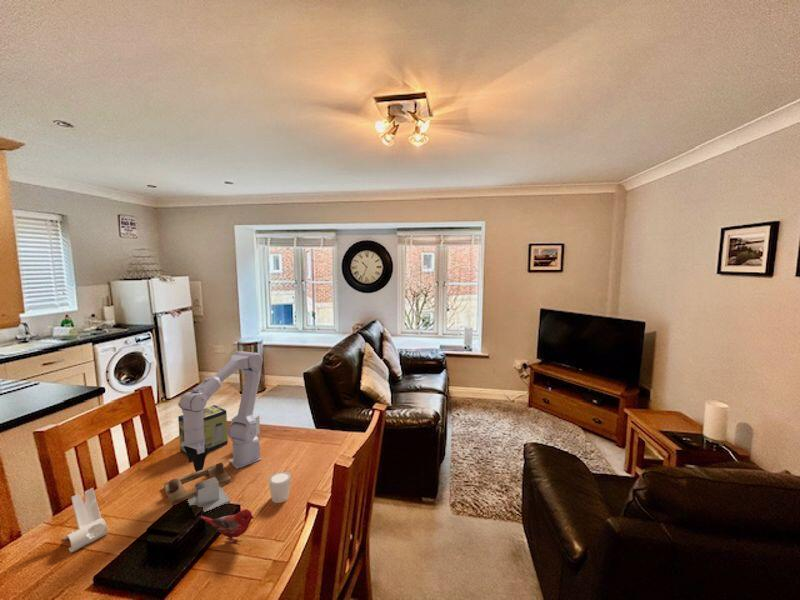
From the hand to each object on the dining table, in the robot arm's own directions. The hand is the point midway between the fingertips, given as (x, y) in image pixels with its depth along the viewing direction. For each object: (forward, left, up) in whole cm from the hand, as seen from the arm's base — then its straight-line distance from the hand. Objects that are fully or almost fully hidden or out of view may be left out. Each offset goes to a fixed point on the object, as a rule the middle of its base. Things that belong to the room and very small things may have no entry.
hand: (195, 465), depth 115 cm
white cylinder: (-19, +23, -10) cm, 31 cm away
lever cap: (-1, +9, -9) cm, 12 cm away
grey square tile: (-1, +9, -9) cm, 13 cm away
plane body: (-1, -4, -9) cm, 10 cm away
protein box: (-10, -31, -10) cm, 34 cm away
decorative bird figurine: (0, +30, -10) cm, 31 cm away
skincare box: (-26, -20, -10) cm, 34 cm away
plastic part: (+28, +1, -10) cm, 30 cm away
